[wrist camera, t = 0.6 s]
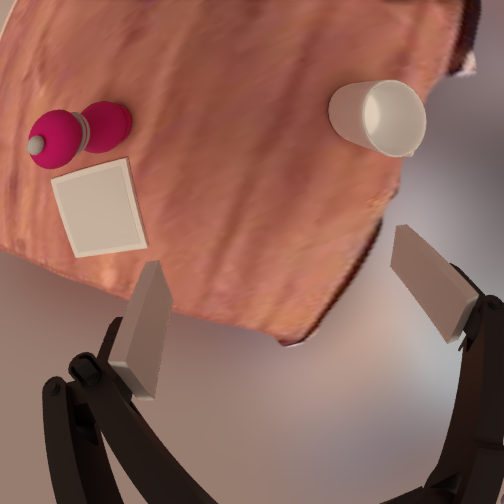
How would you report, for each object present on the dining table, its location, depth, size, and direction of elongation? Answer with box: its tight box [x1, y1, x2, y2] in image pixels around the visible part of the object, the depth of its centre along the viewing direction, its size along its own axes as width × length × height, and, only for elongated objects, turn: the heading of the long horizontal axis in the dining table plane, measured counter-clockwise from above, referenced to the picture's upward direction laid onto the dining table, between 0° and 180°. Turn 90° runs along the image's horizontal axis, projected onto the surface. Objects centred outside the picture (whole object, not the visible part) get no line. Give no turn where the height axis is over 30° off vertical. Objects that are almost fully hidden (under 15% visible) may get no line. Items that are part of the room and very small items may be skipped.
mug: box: [328, 80, 427, 158], centre depth 31 cm, size 9×12×12 cm
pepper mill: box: [27, 101, 132, 169], centre depth 25 cm, size 7×7×20 cm
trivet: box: [51, 157, 149, 258], centre depth 39 cm, size 15×15×1 cm
